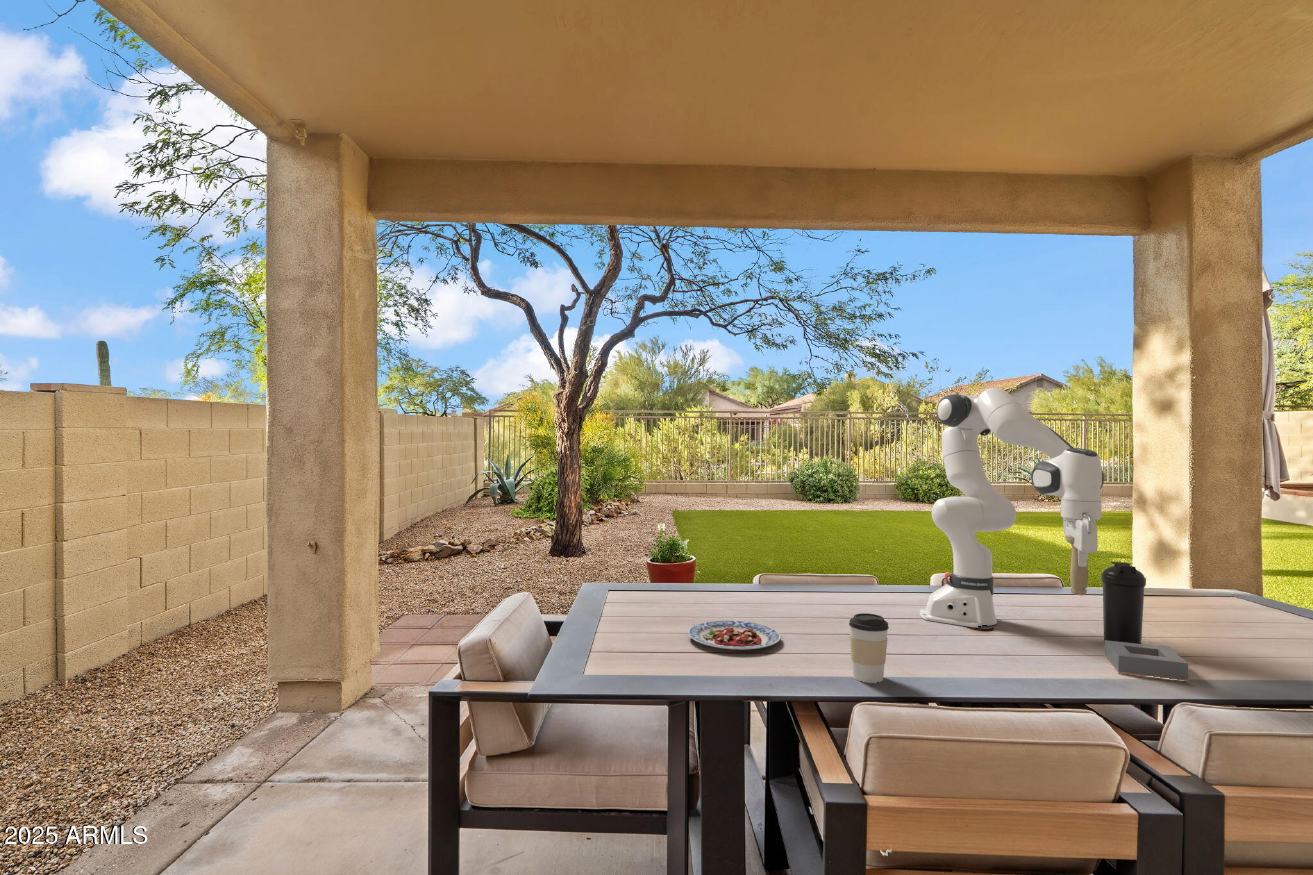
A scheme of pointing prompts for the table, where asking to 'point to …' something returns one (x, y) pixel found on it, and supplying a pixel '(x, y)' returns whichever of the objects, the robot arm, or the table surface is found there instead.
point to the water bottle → (1123, 603)
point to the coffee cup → (868, 647)
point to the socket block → (1145, 660)
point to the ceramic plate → (734, 635)
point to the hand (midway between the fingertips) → (1079, 564)
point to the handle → (1077, 571)
